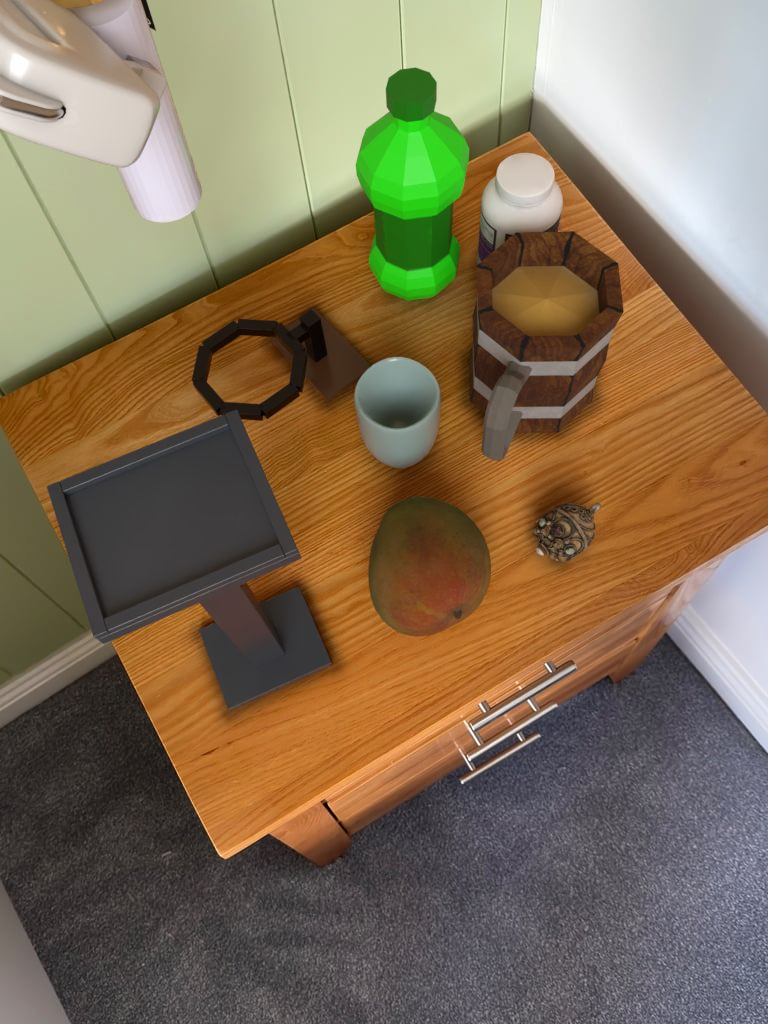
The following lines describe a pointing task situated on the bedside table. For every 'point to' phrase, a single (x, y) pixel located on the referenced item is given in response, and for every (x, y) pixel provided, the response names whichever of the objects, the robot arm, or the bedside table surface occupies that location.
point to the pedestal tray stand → (191, 553)
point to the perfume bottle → (166, 157)
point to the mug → (540, 333)
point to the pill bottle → (518, 201)
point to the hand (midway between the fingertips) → (126, 58)
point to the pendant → (565, 531)
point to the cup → (398, 411)
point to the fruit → (427, 566)
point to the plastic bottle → (413, 188)
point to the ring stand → (306, 349)
